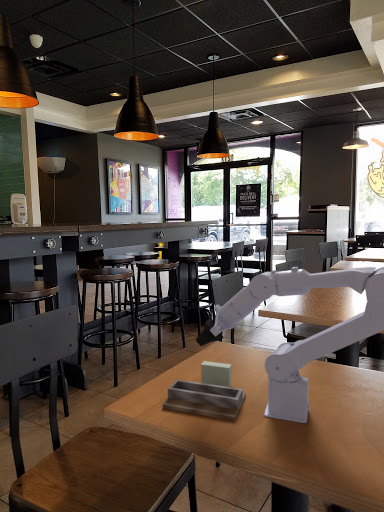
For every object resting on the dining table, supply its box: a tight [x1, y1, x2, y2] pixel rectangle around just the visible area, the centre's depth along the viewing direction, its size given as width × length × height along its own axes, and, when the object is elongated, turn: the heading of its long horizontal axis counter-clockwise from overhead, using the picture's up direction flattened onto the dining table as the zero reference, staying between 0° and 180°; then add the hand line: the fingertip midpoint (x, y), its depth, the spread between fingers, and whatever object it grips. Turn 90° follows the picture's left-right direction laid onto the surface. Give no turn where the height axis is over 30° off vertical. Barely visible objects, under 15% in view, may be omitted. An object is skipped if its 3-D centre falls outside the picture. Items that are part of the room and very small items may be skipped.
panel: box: [200, 360, 233, 387], centre depth 102 cm, size 8×2×6 cm, turn 70°
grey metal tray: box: [162, 378, 247, 422], centre depth 93 cm, size 18×12×4 cm, turn 70°
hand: (204, 336), depth 98 cm, fingers open, 7 cm apart
